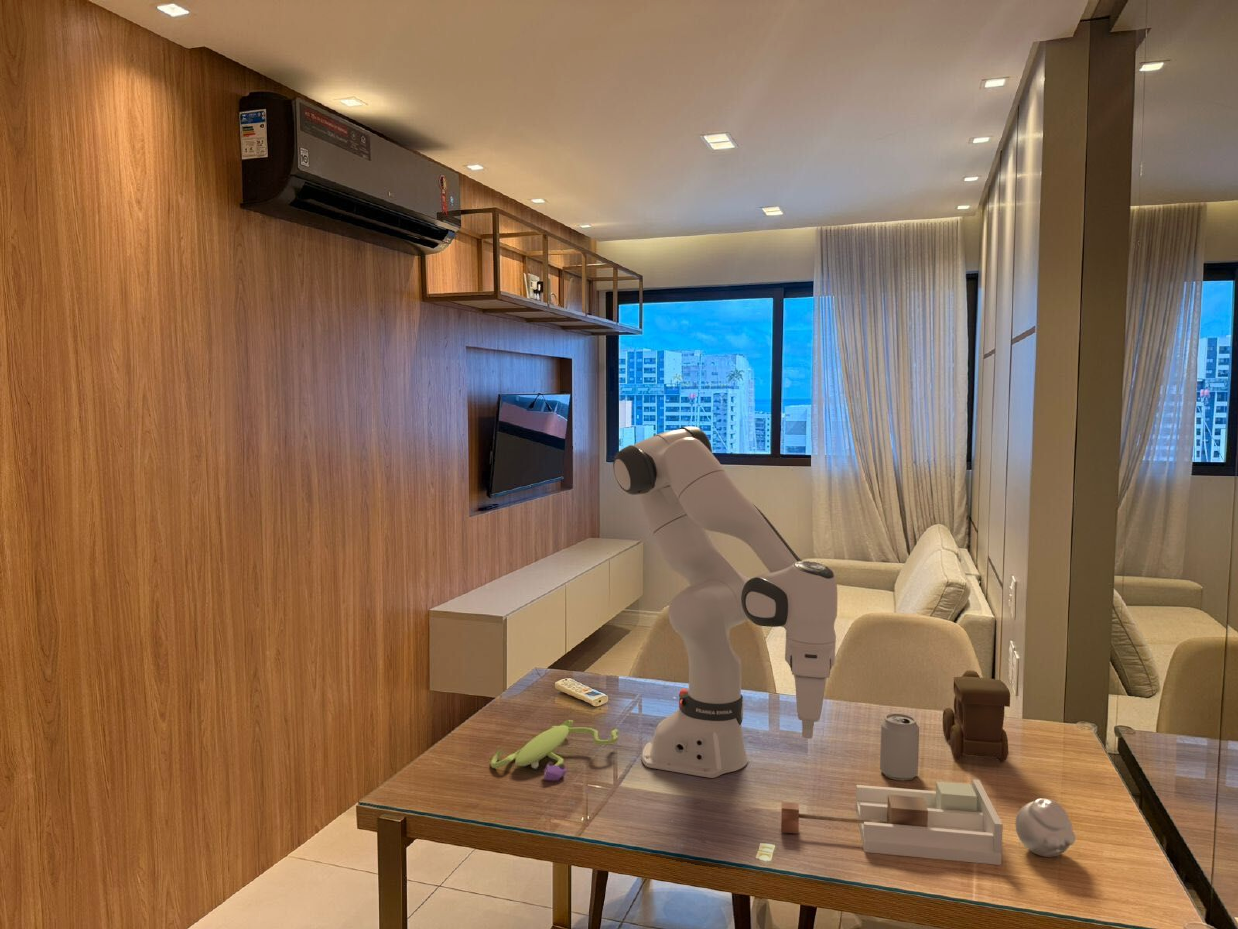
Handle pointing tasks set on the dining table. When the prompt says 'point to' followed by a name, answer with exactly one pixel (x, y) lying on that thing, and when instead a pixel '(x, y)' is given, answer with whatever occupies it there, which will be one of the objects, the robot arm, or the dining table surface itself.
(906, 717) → the can
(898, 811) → the brown block pusher rod
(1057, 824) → the grey round lump
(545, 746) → the figurine
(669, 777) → the dining table surface
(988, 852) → the lane shelf
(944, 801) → the sage block
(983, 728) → the wooden toy train
